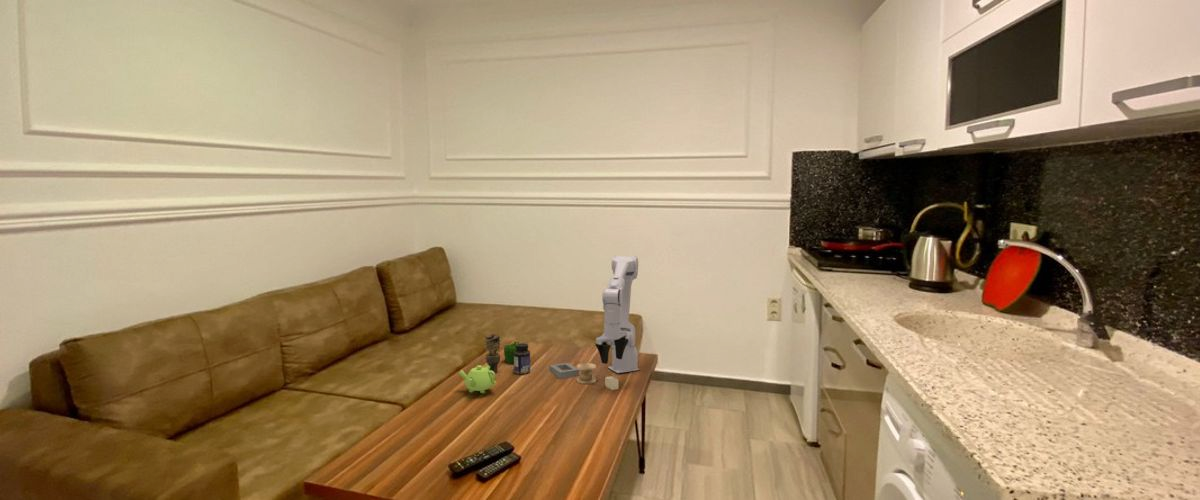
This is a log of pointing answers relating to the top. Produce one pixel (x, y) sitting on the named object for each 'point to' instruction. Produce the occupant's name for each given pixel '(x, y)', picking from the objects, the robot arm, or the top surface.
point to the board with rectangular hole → (567, 373)
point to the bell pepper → (510, 352)
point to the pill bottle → (522, 359)
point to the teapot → (479, 379)
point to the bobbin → (586, 373)
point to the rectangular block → (611, 382)
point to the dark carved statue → (492, 351)
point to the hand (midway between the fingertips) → (611, 361)
